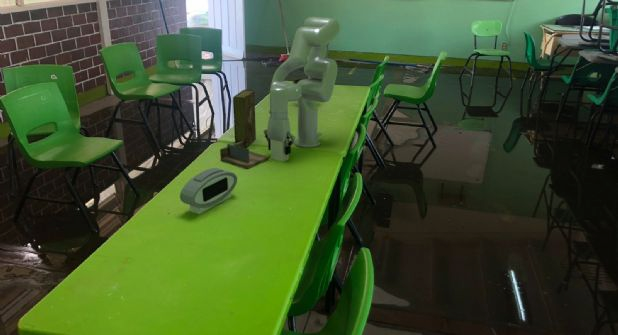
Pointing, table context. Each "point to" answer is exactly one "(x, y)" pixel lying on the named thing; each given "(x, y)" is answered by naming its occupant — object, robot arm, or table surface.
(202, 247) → the table surface
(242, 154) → the shelf
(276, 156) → the plain rectangular box
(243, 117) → the book
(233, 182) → the alarm clock
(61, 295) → the table surface
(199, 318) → the table surface
